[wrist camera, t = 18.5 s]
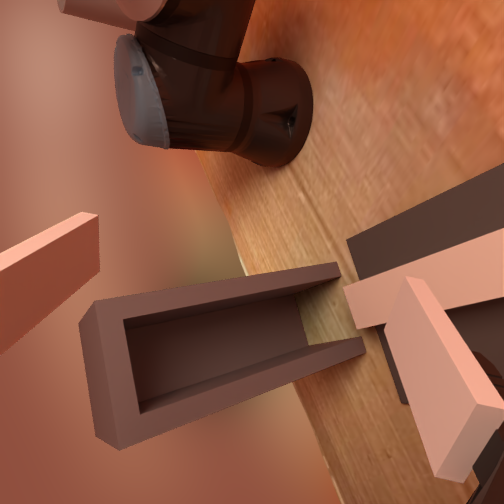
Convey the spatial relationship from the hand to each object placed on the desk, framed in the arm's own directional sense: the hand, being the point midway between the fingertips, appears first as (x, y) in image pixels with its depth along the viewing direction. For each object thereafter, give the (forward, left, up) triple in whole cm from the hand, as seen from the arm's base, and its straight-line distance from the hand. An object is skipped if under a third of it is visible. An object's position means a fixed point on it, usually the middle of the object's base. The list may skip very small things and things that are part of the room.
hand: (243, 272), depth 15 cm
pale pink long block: (+2, -7, -27) cm, 28 cm away
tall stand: (+2, -26, -27) cm, 38 cm away
